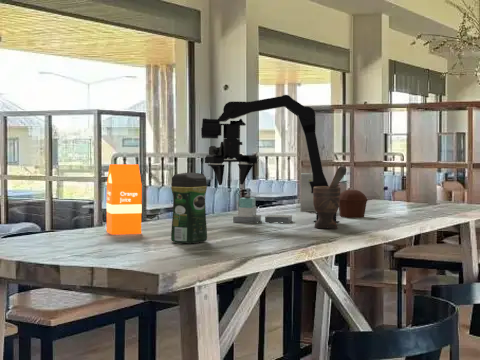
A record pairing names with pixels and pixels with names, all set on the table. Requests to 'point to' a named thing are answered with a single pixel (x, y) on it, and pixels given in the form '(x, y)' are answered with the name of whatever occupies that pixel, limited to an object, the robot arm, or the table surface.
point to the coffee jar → (189, 208)
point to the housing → (247, 207)
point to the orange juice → (124, 199)
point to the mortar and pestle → (328, 201)
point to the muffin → (352, 204)
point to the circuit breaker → (306, 193)
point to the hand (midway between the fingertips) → (231, 184)
